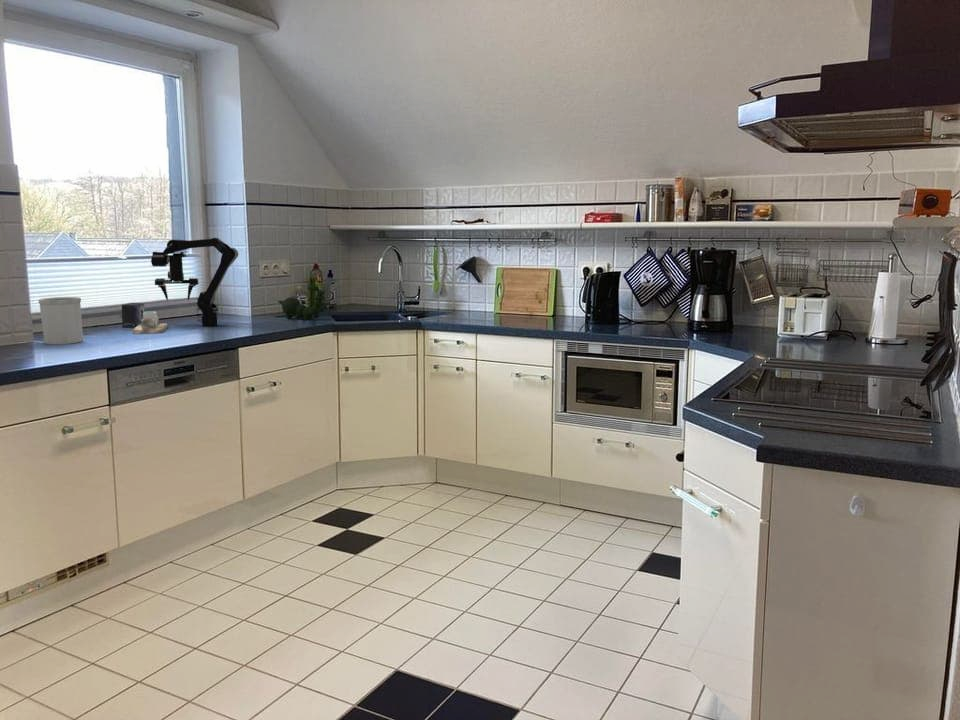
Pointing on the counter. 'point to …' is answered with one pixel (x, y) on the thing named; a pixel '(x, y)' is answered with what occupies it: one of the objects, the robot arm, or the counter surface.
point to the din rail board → (156, 330)
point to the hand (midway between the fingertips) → (177, 300)
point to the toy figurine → (303, 306)
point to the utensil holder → (61, 320)
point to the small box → (132, 314)
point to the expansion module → (150, 316)
